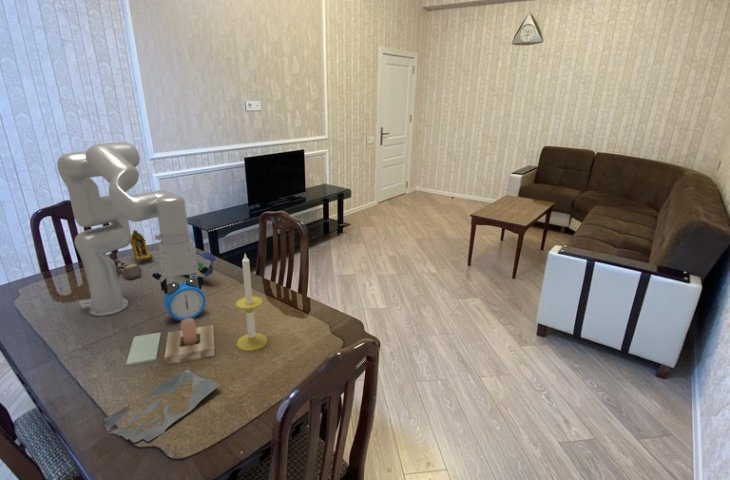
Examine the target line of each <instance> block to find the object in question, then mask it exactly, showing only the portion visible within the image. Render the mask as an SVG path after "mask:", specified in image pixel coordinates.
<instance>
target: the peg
mask: <svg viewBox="0 0 730 480" xmlns="http://www.w3.org/2000/svg"><path fill="white" fill-rule="evenodd" d="M180 325H181V326H180V327H181V330H182V334H183V341H184V344H183V346H189V345H194V344H199V343H198V342H197V335H196V328H197V327H196V322H195V318H186V319H184V320H181V321H180Z"/></svg>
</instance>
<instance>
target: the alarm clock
mask: <svg viewBox="0 0 730 480" xmlns="http://www.w3.org/2000/svg"><path fill="white" fill-rule="evenodd" d="M167 286H168V292H167V294H164V297H163V305H164V308H165V309H166V310H167V312H168V314H169V315H170V316H171V317H172V318H173V319H175V320H177V321H178V323H181V321H182V320H184V319H186V318H193V319H195V318H196V317H200V314H201V313H202V311H204V308H205V306H206V300H207V299H206V295H205V293H204V291H203V290H202V289H199V285H198V279H196V278H189V277H188V278H187V279H185V281H181V282H177V281H171V282H169V283H167Z"/></svg>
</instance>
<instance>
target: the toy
mask: <svg viewBox="0 0 730 480" xmlns="http://www.w3.org/2000/svg"><path fill="white" fill-rule="evenodd" d="M114 263H115V265H116V266H117V269H118V272H120V273H123V276H124V277H125V278H127V279H129V280H130V279H136V278H139V277H141V275H142V273H143V270H142V267H141V266H140V264H134V263H132V264H126V263H125V262H122V260H116V261H114Z"/></svg>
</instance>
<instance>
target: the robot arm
mask: <svg viewBox="0 0 730 480" xmlns="http://www.w3.org/2000/svg"><path fill="white" fill-rule="evenodd" d="M139 153H140V152H139V151H138V150H137V148H136V147H135V146H134V145H133V144H131V143H128V142H124V141H122V142H107V143H106V142H105V143H98V144H94V145H91V146H89V148H88V149H86V150H85V151H76V152H69V153H65V154H62V155H61V156H60V157H59V158H58V160H57V162H56V167H57V171H58V174H59V176H60V178H61V179H62V182H63V183H64V185H65V186H66V188H67V191H68V196H69V200H70V204H71V209H72V213H73V217H74V220H75V222H76V224H77V225H78V226H79V227H83V228H89V227H94V228H91V229H86V230H84V231H82V232H79V233H78V234H77V235H76V236H75V238H74V245H75V248H76V250H77V252H78V254H79V257H80V259H81V263H82V265H83V266H82V267H83V268H84V273H85V274H84V275H85V277H86V281H87V287H88V289H89V294H90V298H89V299H87V300H85V299H84V300H79V301H78V304H79V306H80V307H81V309H85V308H88V312H89V314H90V315H92V316H95V317H104V316H105V317H106V316H111V315H114V314H118V313H119V312H121V311H123V310H125V309H126V308H127V307H128V306H129V301H128V299H126V298H125V297H124V298H123V295H122V289H121V285H120V281H119V274H118V271H117V265H115V261H114V260H113V259H112V258H110V257H108V256H107V254H108V253H110V252H114V251H117V250H120V249H124V248H127V247H129V246H130V245H131V243H130V242H131V234H132V233H131V227H130V223H129V222H130V221H131V222H135V223H137V222H143V221H148V220H152V219H155V218H157V221H158V227H159V234H155V235H154V239H155V240H158V241H161V242H159V244H158V259H159V261H157V262H155V263H154V264H152V265H150V266H148V267H147V272H148V273H149V275H151V276H152V278H153V279H155V280H157V281H158V282H159V283H160V288H161V291H162V292H163V293H164V295H165V294H167V292H168V286H167V285H168V281H167V278H171V277H178V276H184V275H185V276H188V275H187V274H193V273H196V274H197V275H198V279H197V280H198V285H199V286H198V287H199V289H201V290H202V286H205V285H204V278H203V275H204V274H205V273H206V272H207V271H208V268H209V266H210V264H211V261H210V260H207V259H204V258H201V257H197V254H196V252H197V249H196V246H195V243H194V241H193V239H192V238H191V237H190V231H189V223H188V215H187V210H186V203H185V198H184V197H183V196H181V195H180V194H172V193H171V192H170V191H167V190H154V191H149V192H148V191H147V192H143V193H137V194H134V195H133V194H132V195H130V194H128V193H127V192H128V191H129V190H131V189H132V188H133V187H135V185H137V183H138V181H139V179H140V173H139V170H138V169H137V167H138V166H139V164H140V163H141V157H140V154H139ZM96 177H102V178H103V179H104V180H105V181H106V182H107V183H109V185H108V195H104V196H100V195H101V194H100V190H99V187H98V186H99V185H98V184H97V182H96V181H94V179H92V178H96ZM109 223H110V224H109ZM105 224H107V225H105ZM101 225H103V226H101ZM95 226H98V227H95ZM99 226H100V227H99ZM198 262H200V263H203V264H205V266H204V267H203V268H202V269H200V268H199V267H198ZM158 268H160V273H159V272H157V271H156V270H157V269H158Z"/></svg>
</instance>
